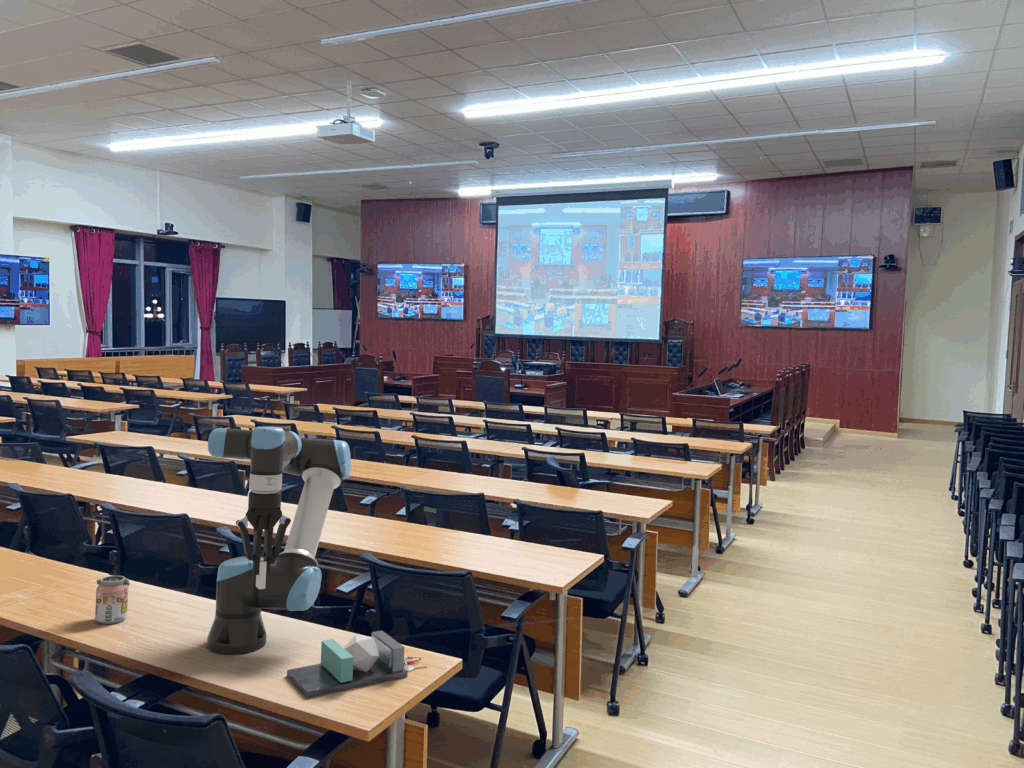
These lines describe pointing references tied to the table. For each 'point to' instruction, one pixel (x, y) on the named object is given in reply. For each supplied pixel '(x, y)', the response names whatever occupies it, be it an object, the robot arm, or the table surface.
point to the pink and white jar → (111, 599)
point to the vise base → (384, 669)
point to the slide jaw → (337, 660)
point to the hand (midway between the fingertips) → (260, 587)
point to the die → (362, 652)
